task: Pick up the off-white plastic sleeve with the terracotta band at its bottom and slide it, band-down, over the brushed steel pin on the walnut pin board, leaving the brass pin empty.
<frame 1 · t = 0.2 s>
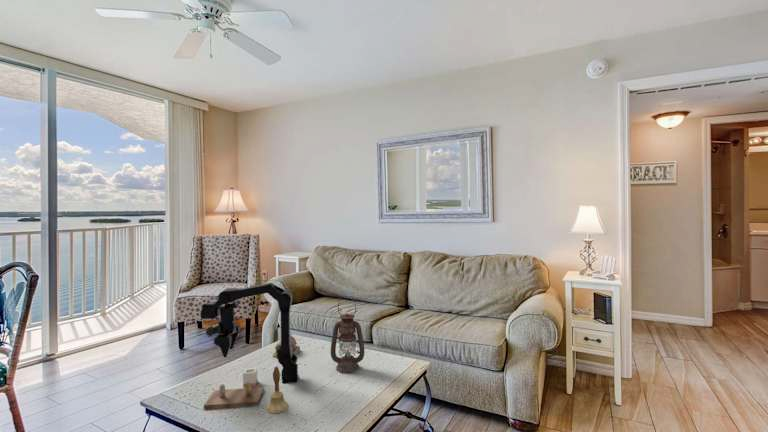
hand: (228, 353, 163), 14 cm above the table, fingers open, 9 cm apart
hand bell: (277, 408, 142), on the table
lantern: (347, 369, 178), on the table
pin board: (235, 399, 149), on the table
ceramic model: (286, 354, 197), on the table
sleeve: (250, 384, 162), on the table
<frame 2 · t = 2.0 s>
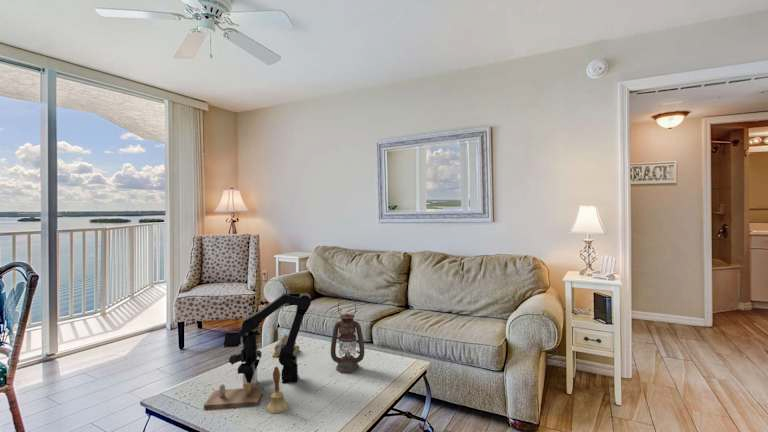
hand: (250, 380, 162), 2 cm above the table, fingers closed on sleeve, 5 cm apart
sleeve: (250, 384, 162), on the table, touching gripper
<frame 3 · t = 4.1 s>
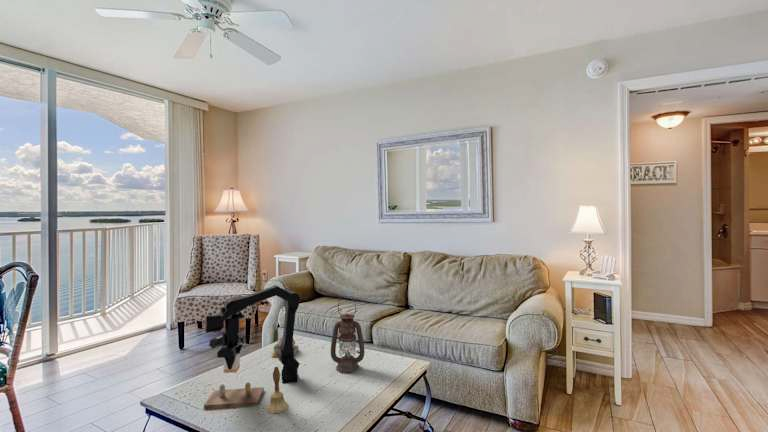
hand: (231, 366, 153), 12 cm above the table, fingers closed on sleeve, 5 cm apart
sleeve: (231, 370, 154), point 10 cm above the table, touching gripper
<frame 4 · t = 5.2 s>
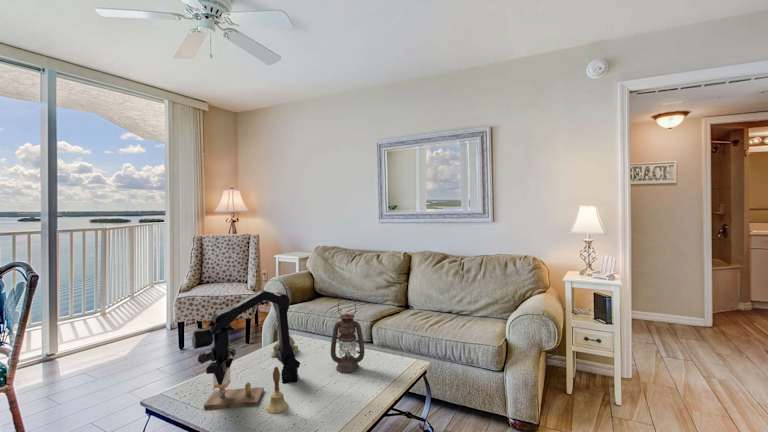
hand: (222, 381, 148), 8 cm above the table, fingers closed on sleeve, 5 cm apart
sleeve: (222, 385, 148), point 6 cm above the table, touching gripper
everything else where it was.
when the fingers open (4 cm above the table, at t = 6.2 s): sleeve drops 1 cm, resting on pin board.
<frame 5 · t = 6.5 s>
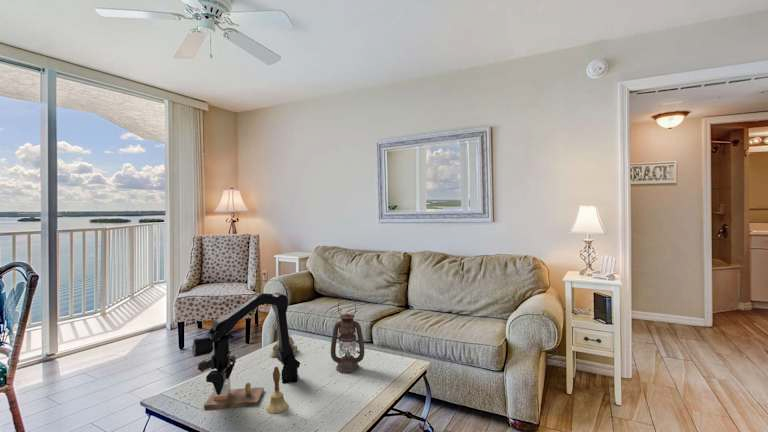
hand: (222, 389, 148), 4 cm above the table, fingers open, 8 cm apart
sleeve: (222, 396, 149), point 1 cm above the table, touching pin board
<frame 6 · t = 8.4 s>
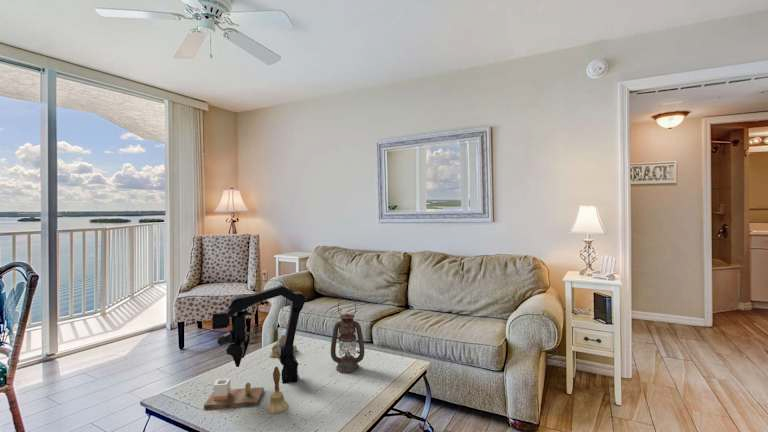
hand: (240, 362, 158), 12 cm above the table, fingers open, 9 cm apart
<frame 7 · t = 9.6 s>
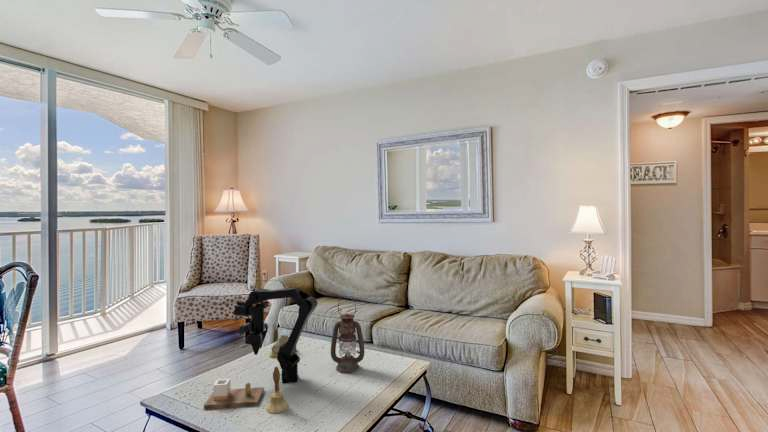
hand: (258, 350, 169), 12 cm above the table, fingers open, 9 cm apart
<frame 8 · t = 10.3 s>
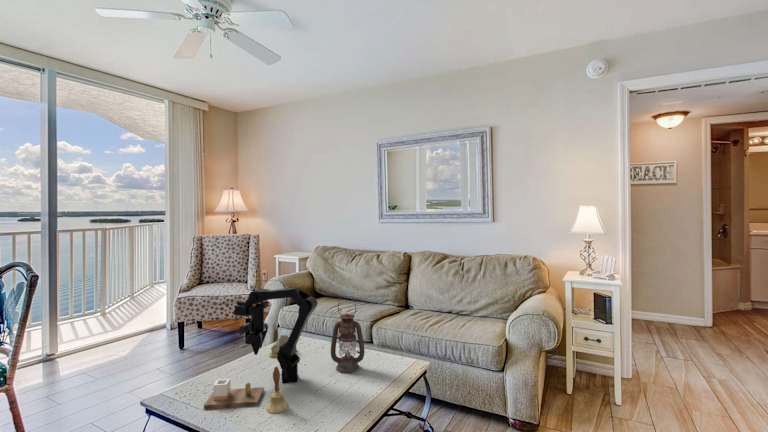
hand: (258, 350, 169), 12 cm above the table, fingers open, 9 cm apart
at the end: sleeve 0.1 cm from the target spot on the pin board, point 1.5 cm above the pin board's base; sleeve tilted 0°; the gripper is holding nothing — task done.
